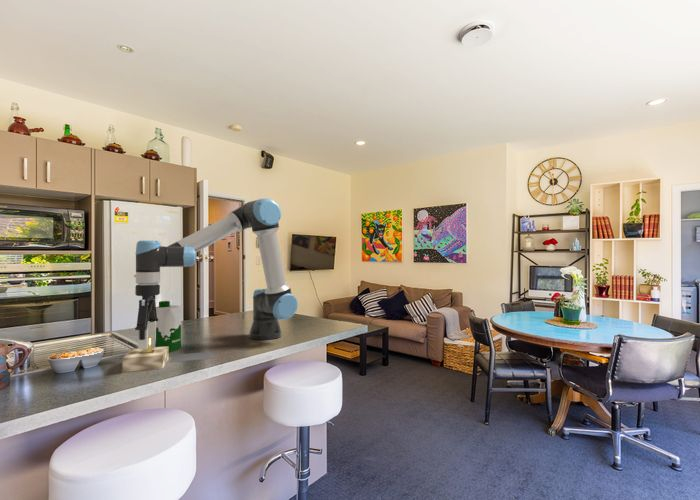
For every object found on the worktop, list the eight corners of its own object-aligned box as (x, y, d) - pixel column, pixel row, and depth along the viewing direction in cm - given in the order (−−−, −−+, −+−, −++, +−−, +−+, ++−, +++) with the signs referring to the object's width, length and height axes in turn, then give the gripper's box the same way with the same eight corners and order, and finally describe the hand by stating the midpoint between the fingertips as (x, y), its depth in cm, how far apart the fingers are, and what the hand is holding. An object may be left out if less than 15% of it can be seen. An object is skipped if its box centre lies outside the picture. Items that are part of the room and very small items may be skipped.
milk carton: (166, 347, 150) (166, 300, 150) (185, 348, 148) (185, 300, 149) (150, 352, 142) (151, 302, 142) (170, 354, 140) (171, 303, 140)
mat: (212, 352, 142) (212, 351, 142) (210, 359, 133) (210, 358, 133) (173, 355, 138) (173, 354, 138) (169, 363, 128) (169, 362, 128)
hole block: (168, 359, 133) (168, 346, 133) (162, 369, 121) (162, 355, 121) (131, 362, 129) (132, 348, 129) (122, 373, 117) (122, 358, 118)
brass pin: (152, 364, 127) (152, 336, 127) (150, 366, 124) (151, 338, 124) (143, 364, 126) (143, 336, 126) (141, 367, 123) (141, 338, 123)
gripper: (144, 281, 136) (143, 336, 136) (125, 287, 112) (124, 354, 112) (165, 281, 138) (165, 335, 138) (152, 286, 115) (151, 352, 115)
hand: (147, 344), depth 125 cm, fingers open, 13 cm apart
